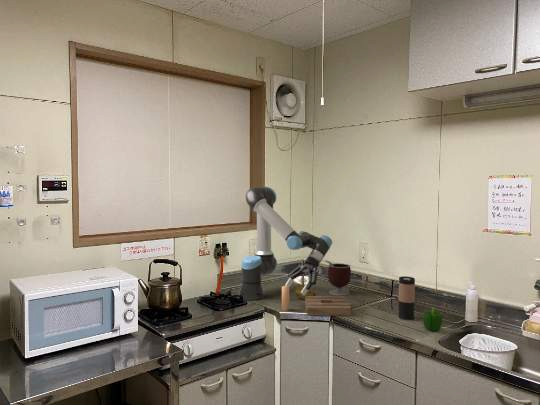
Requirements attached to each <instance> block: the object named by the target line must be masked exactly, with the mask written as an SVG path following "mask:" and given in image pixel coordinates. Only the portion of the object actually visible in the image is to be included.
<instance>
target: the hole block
mask: <svg viewBox="0 0 540 405" xmlns="http://www.w3.org/2000/svg"><path fill="white" fill-rule="evenodd" d="M304 304H305V309H306V315H307V316H338V315H351V316H352V307H351V305H350V303H349V302H348V299H347V298H346V295H345V296H337V295H331V296H330V295H316V296H305V300H304Z"/></svg>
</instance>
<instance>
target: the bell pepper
mask: <svg viewBox="0 0 540 405" xmlns="http://www.w3.org/2000/svg"><path fill="white" fill-rule="evenodd" d="M435 309H436V307H434V306H433V307H432V309H431V310H427V311H423V312H422V321H423V323H422V324H423V326H424V329H425V330H426V331H429V332H430V331H431V332H439V331H440V329H441V328H442V324H443V315H442V313H439V312H438V311H435Z"/></svg>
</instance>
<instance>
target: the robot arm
mask: <svg viewBox="0 0 540 405" xmlns="http://www.w3.org/2000/svg"><path fill="white" fill-rule="evenodd" d="M245 201H246V204H247V205H248V207H250V209H251V210H253V212H256V245H257V246H256V249H257V250H256V251H255V253H254V255H248V256H245V257H244V258H242V260H241V285H240V288H239V291H238V296H239V295H242V296H243V299H242V300H244V301H257V300H261V299H264V298H265V291H264V286H263V285H262V277H264V276H269V275H270V274H272V273H274V272H275V271H276V270H277V267H278V260H277V259H276V257H275V254H274V252H273V251H272V228H273V229H274V231H276V232H277V233H278V234H279V235H280V236H281V238H283V239H284V240H285V242H286V246H287V248H288V249H289V250H292V251H296V250H297V251H298V250H301V249H304V248H309V249H311V251H310V253H309V255H308V256H307V257H306V259H305V261H304V265H302V263H299V264H298V266H296V268H294V270H291V272H289V274H287V277H288V279H287V281H286V283H285V285H284V286H289V288H291V286H292V284H293V282H294V280H295V279H297V278H298V277H300V276H302V275H307V276H308V281H307V282H306V283H305V284H304V288H303V290H302V291H301V293H302V294H303V295H304V296H305V294H306V292H307V291H308V290H309V289H310V290H311V287H312V286H313V285H314V286H316V285H317V282H318V276H319V275H318V274H319V271H320V269H319V266H320V264H321V263H322V261H323V259H324V257H325V256H326V254H328V251H329V250H330V249H331V246H332V245H333V240H332V239H331V237H330V236H328V235H325V234H324V235H320V237H319V236H316V235H313V234H311V233H309V232H307V231H303V230H302V231H299V232H297V231H296V230H295V229H294V228H293V227H292V226H291V225H290V224H289V223H288V222H287V221H286V220H285V219H284V218H283V217H282V216H281V215H279V214H278V212H277V211H276V210H275V209H274V205H275V203H276V202H277V194H276V192H275V190H274V189H273V188H271V187H268V186H252V187H249V189H248V190H247V192H246V193H245Z"/></svg>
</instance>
